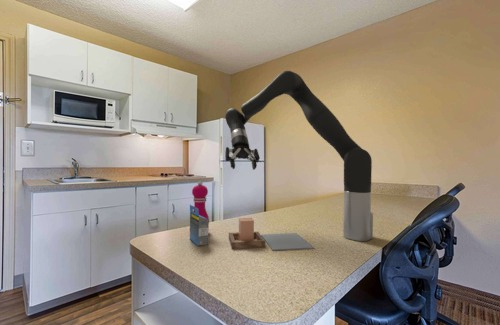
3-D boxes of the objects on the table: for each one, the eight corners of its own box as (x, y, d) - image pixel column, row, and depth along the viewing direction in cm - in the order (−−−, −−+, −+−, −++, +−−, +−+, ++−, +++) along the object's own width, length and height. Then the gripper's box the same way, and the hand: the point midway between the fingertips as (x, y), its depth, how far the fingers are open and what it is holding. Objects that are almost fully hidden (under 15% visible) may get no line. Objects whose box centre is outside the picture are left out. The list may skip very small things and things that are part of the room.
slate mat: (296, 234, 95) (296, 233, 95) (314, 248, 79) (314, 247, 79) (261, 235, 92) (261, 234, 92) (272, 250, 77) (272, 249, 77)
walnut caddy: (258, 236, 91) (258, 231, 91) (265, 247, 80) (265, 241, 80) (228, 238, 89) (228, 232, 89) (231, 248, 78) (231, 242, 78)
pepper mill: (212, 231, 96) (213, 181, 96) (199, 236, 90) (200, 182, 90) (199, 228, 100) (199, 180, 100) (185, 233, 94) (186, 181, 94)
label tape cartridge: (209, 244, 82) (209, 207, 82) (197, 246, 80) (198, 208, 79) (199, 237, 89) (199, 203, 89) (188, 239, 87) (189, 204, 87)
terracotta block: (251, 240, 87) (251, 217, 87) (253, 244, 82) (253, 220, 82) (238, 240, 86) (238, 218, 86) (240, 245, 82) (240, 221, 82)
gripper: (225, 133, 105) (228, 161, 95) (256, 135, 109) (263, 162, 98) (222, 145, 111) (225, 173, 100) (253, 147, 114) (258, 174, 104)
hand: (244, 168), depth 99 cm, fingers open, 8 cm apart
